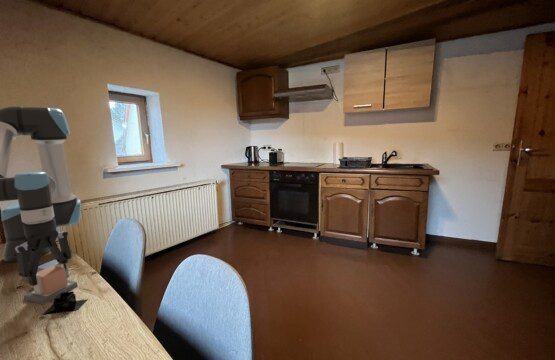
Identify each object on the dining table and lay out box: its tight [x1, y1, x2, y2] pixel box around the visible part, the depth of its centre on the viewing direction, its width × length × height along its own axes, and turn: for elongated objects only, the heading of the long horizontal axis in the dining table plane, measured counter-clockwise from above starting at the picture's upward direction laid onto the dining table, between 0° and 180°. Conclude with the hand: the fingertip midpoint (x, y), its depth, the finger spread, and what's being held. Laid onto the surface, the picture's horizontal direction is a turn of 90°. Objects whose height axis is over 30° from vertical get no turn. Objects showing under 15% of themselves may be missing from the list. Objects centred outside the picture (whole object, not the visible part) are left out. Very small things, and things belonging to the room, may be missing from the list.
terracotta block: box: [32, 266, 68, 295], centre depth 81 cm, size 6×6×6 cm
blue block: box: [37, 259, 70, 277], centre depth 90 cm, size 6×6×6 cm
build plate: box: [41, 291, 89, 316], centre depth 74 cm, size 12×7×5 cm, turn 100°
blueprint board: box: [23, 279, 79, 305], centre depth 82 cm, size 10×9×2 cm
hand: (51, 286), depth 82 cm, fingers closed on terracotta block, 6 cm apart
